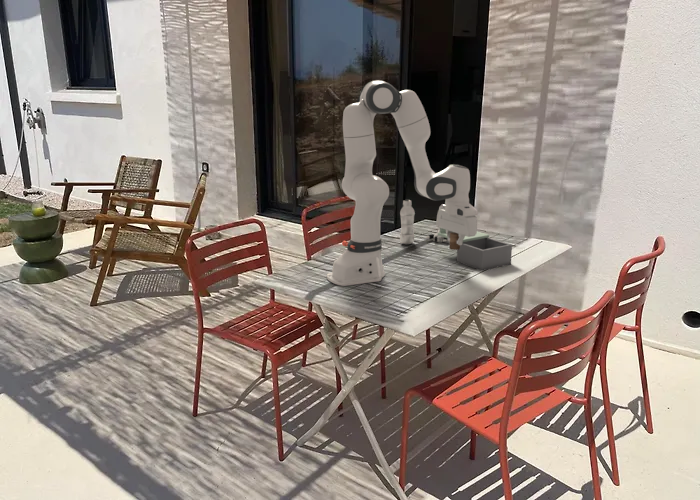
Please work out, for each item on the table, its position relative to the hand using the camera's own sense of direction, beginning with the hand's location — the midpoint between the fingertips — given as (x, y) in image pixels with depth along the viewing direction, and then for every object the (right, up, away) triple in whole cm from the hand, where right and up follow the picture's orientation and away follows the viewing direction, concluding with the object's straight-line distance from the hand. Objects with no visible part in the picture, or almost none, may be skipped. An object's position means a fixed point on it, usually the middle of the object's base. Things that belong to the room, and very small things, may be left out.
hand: (454, 243), depth 215 cm
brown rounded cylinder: (0, -2, +1) cm, 2 cm away
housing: (+13, -8, +9) cm, 18 cm away
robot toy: (+4, +2, +45) cm, 45 cm away
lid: (+7, +3, +18) cm, 20 cm away
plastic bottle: (-14, 0, +40) cm, 42 cm away
